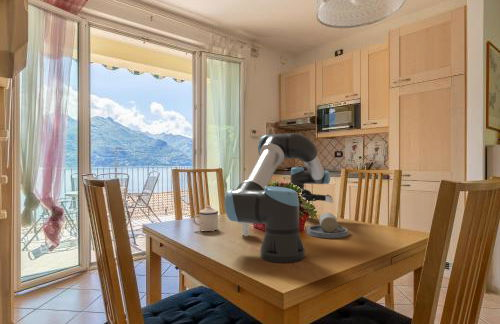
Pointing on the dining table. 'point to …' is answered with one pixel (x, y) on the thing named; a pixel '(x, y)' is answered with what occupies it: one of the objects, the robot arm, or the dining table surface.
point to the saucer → (318, 232)
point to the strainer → (245, 228)
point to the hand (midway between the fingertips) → (318, 200)
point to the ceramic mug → (329, 223)
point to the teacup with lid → (208, 219)
